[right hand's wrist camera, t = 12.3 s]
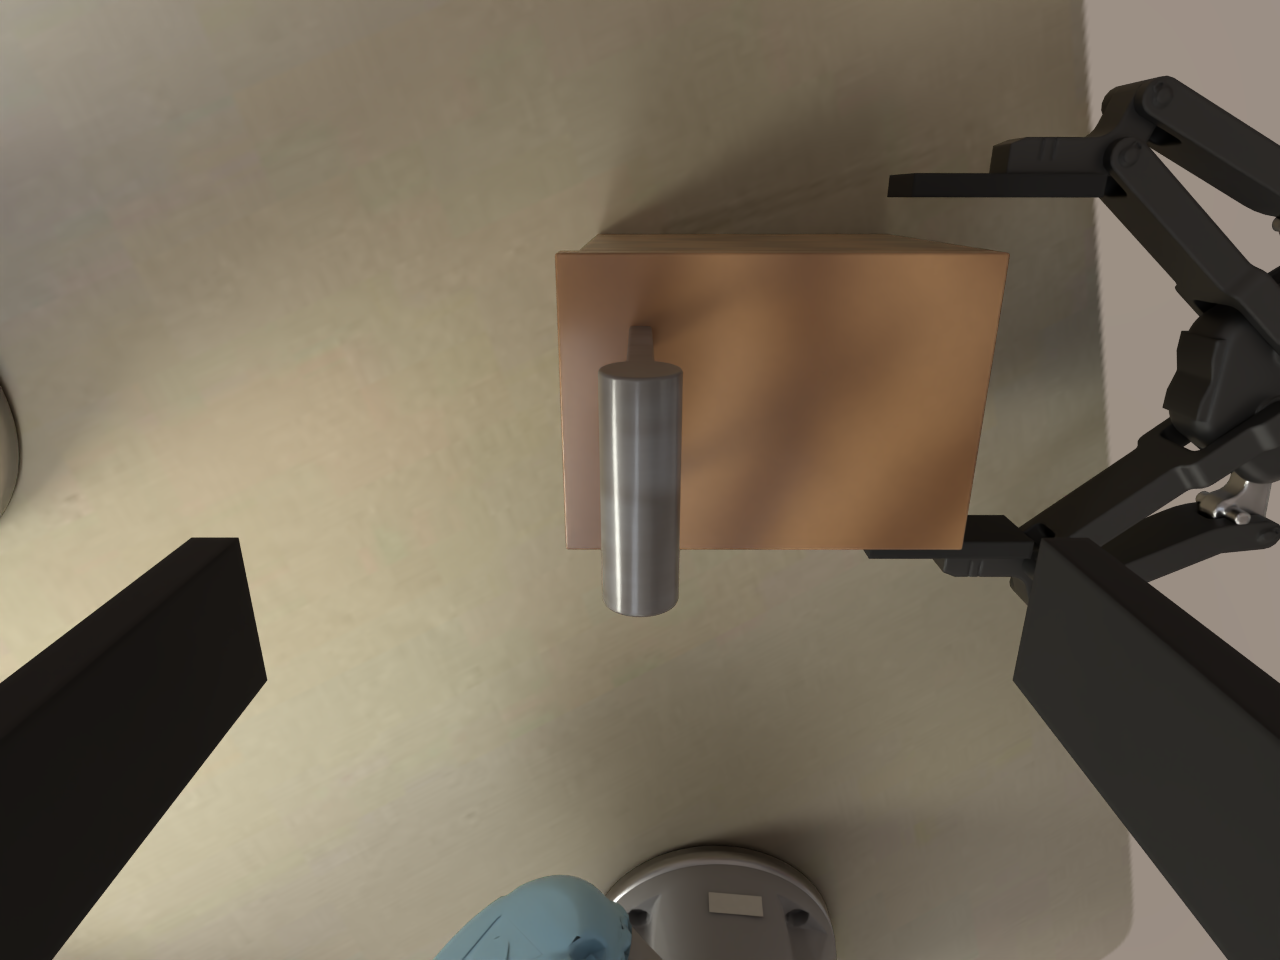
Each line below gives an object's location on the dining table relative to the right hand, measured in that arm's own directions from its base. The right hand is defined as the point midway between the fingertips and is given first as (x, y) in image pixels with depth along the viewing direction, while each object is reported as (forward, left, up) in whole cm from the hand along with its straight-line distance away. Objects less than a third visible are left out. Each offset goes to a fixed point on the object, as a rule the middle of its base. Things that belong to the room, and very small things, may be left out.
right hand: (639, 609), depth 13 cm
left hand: (+3, -9, -18) cm, 20 cm away
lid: (+1, -4, -14) cm, 14 cm away
